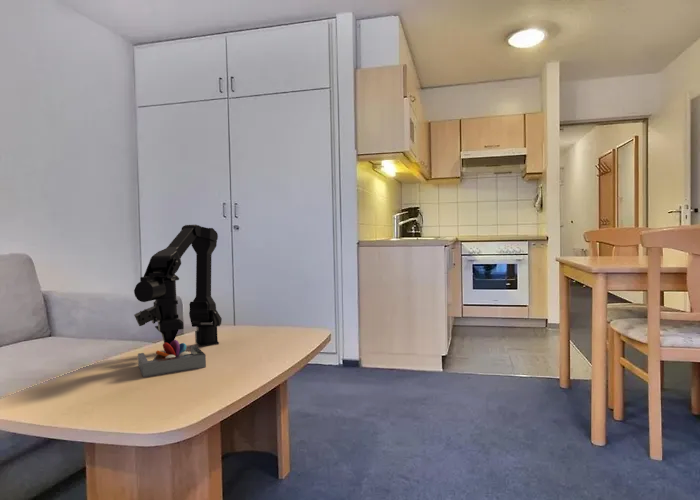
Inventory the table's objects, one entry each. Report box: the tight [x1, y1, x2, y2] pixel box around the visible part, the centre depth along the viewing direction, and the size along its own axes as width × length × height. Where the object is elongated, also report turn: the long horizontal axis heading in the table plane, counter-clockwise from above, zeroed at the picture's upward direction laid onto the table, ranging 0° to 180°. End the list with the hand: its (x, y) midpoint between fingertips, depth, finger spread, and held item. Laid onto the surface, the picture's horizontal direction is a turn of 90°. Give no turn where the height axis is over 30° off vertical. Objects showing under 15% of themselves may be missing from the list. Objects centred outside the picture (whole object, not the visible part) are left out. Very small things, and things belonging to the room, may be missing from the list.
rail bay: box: [137, 345, 207, 378], centre depth 129 cm, size 16×14×4 cm
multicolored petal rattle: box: [153, 339, 191, 359], centre depth 130 cm, size 8×10×7 cm
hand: (168, 350), depth 134 cm, fingers closed
